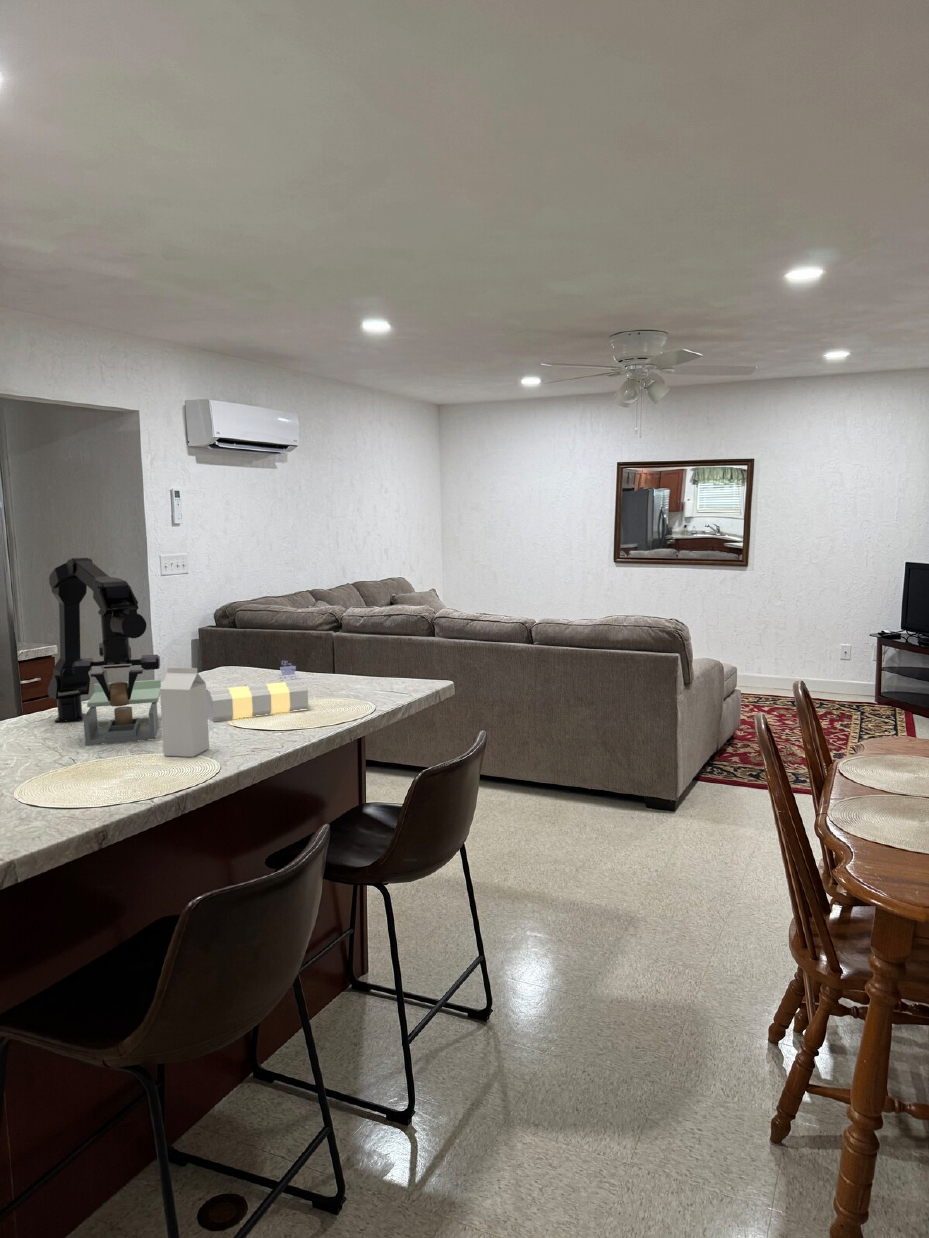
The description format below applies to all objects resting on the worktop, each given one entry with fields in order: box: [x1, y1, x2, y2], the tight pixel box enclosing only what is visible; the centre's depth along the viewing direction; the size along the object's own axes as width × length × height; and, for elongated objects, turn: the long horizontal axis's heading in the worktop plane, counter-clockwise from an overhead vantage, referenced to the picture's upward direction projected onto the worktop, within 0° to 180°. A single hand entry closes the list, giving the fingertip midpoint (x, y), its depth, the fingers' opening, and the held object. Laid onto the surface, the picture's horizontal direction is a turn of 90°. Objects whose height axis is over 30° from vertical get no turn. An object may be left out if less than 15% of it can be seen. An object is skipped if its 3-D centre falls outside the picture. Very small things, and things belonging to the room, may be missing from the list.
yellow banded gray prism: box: [206, 660, 309, 723], centre depth 223 cm, size 25×10×13 cm, turn 118°
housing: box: [83, 702, 159, 746], centre depth 202 cm, size 14×15×6 cm
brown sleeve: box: [109, 681, 130, 707], centre depth 198 cm, size 4×4×5 cm
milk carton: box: [159, 667, 210, 758], centre depth 185 cm, size 7×7×19 cm
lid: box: [86, 679, 162, 708], centre depth 211 cm, size 15×16×3 cm
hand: (119, 700), depth 198 cm, fingers closed on brown sleeve, 4 cm apart
